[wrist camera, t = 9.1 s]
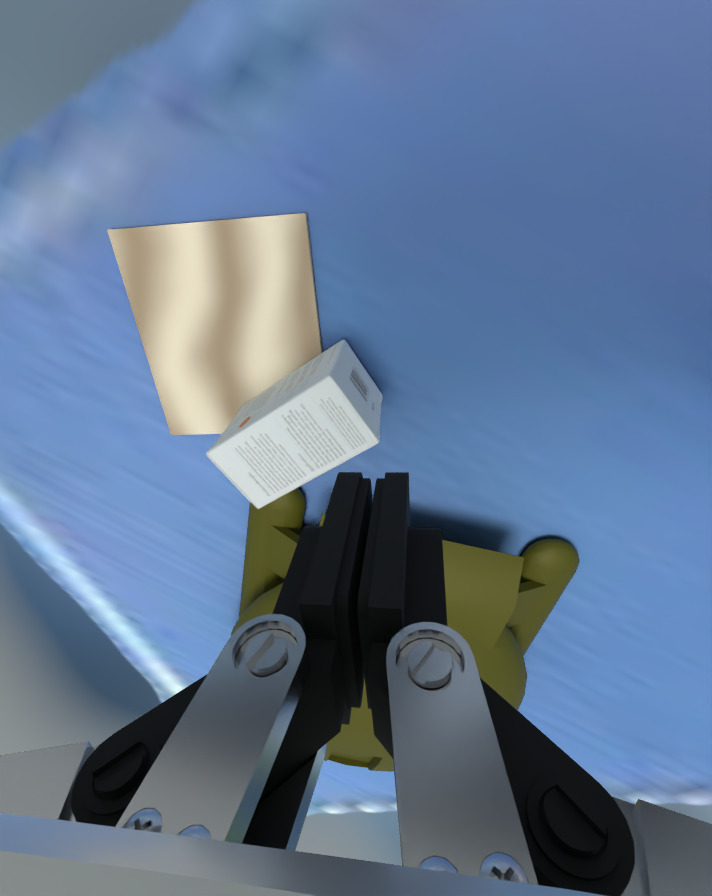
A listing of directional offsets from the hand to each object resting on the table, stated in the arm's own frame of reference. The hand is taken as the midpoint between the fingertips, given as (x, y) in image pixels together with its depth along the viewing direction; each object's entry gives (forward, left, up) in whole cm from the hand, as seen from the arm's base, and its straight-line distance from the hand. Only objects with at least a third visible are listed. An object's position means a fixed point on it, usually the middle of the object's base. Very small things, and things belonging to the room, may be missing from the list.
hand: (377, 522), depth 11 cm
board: (+13, +1, -24) cm, 27 cm away
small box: (+2, +4, -20) cm, 20 cm away
